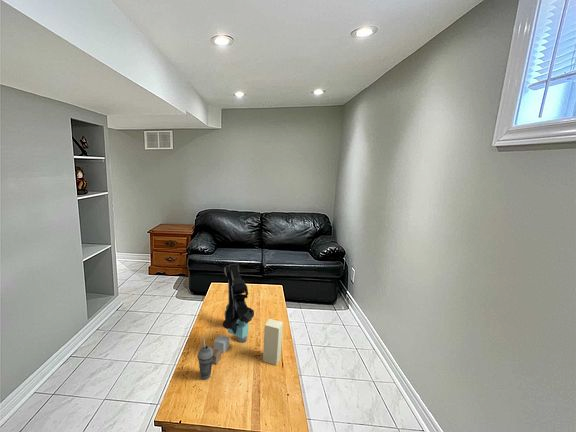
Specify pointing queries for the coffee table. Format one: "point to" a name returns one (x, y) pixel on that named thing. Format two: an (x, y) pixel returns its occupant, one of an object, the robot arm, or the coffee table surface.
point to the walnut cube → (216, 356)
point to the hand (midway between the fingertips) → (237, 331)
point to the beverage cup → (205, 361)
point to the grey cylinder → (242, 339)
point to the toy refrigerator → (272, 341)
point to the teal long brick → (240, 329)
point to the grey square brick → (221, 343)
